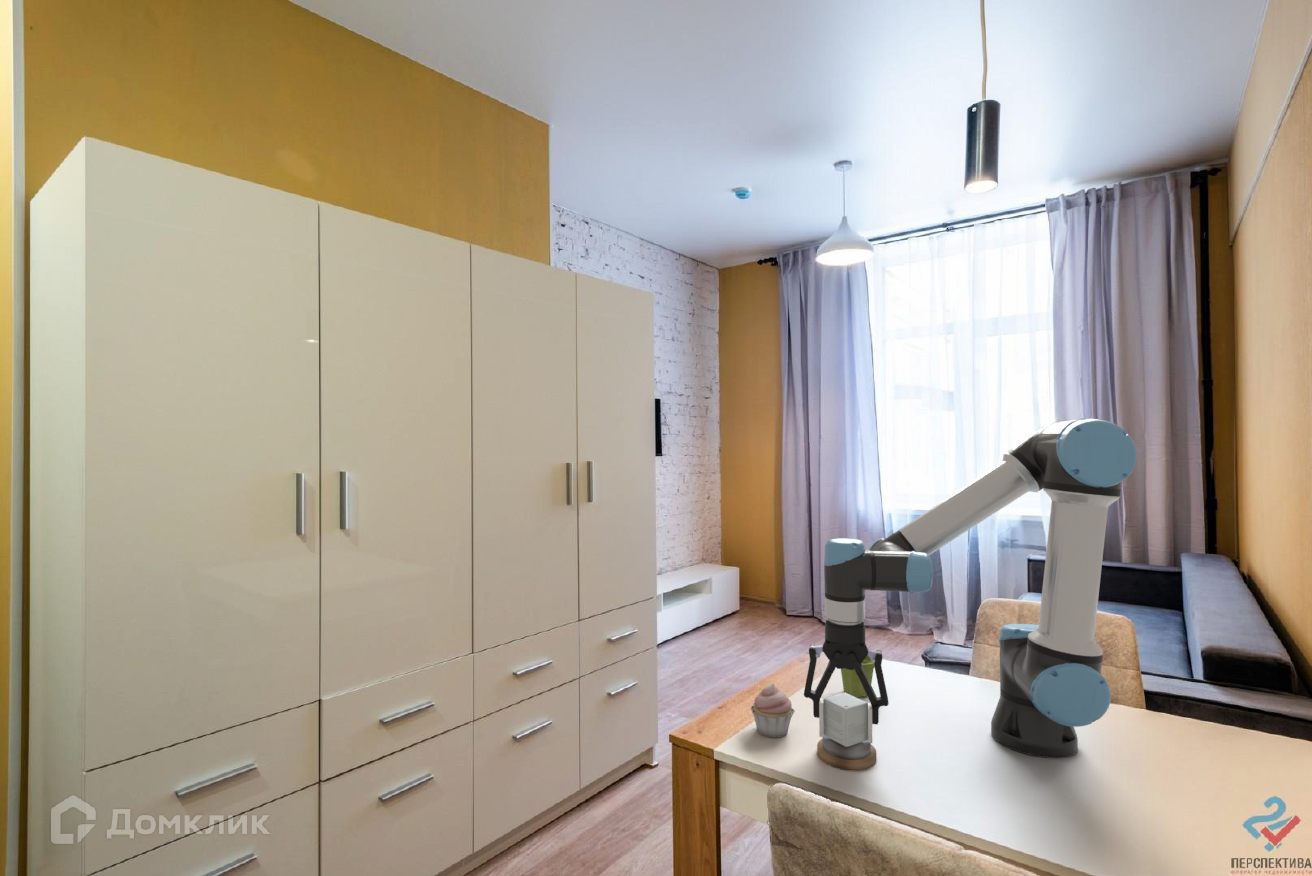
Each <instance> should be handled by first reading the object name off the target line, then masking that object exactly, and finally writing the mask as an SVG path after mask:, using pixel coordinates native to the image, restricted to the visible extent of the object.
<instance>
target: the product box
mask: <svg viewBox="0 0 1312 876" xmlns="http://www.w3.org/2000/svg"><path fill="white" fill-rule="evenodd" d="M823 698H824V697H823ZM823 701H824V736H826V737H828V738H830V739H832V740H834V741H836V742H838V743H840V744H841V745H843V746H845V747H848V746H852V745H855V744H857V743H860V742H863V741H866V740H868V703H869V702H867V701H864V700H862V699H860V698H859V697H854V696H852V695H849V694H847V693H846V692H841V693H837V694H835V695H832V696H828V697H825V698H824V699H823Z"/></svg>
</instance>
